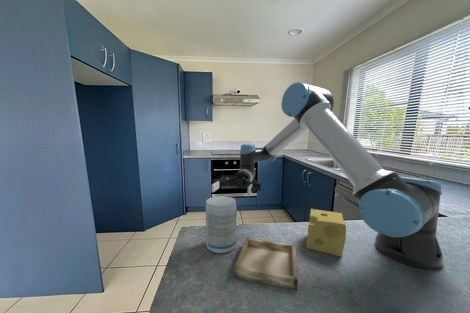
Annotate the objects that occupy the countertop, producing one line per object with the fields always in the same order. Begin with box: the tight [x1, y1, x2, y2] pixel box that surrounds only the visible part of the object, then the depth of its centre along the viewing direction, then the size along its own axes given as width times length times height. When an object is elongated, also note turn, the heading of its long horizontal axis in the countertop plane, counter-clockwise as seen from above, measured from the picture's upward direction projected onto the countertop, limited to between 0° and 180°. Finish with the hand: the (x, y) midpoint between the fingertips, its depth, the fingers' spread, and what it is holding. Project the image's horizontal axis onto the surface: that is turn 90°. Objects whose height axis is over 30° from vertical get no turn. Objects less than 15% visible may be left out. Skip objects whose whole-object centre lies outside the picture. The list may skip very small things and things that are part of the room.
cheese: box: [305, 208, 347, 257], centre depth 62 cm, size 10×11×10 cm
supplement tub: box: [205, 195, 237, 254], centre depth 60 cm, size 10×10×15 cm
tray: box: [233, 237, 299, 291], centre depth 52 cm, size 15×15×2 cm
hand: (230, 190), depth 70 cm, fingers open, 13 cm apart
